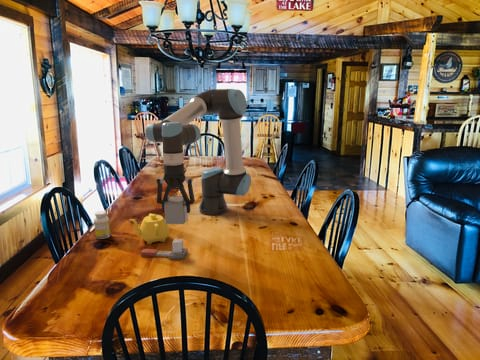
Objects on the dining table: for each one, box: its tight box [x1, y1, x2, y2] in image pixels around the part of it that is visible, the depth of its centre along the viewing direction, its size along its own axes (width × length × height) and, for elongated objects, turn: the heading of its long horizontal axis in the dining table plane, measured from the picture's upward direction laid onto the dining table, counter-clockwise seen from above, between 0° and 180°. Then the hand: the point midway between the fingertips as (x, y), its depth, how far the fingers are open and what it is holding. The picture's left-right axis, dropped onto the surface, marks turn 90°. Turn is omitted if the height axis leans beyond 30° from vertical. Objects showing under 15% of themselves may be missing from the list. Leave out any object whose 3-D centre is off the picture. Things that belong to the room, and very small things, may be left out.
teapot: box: [128, 213, 170, 245], centre depth 166 cm, size 14×14×12 cm
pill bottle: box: [93, 210, 112, 240], centre depth 170 cm, size 6×6×12 cm
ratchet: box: [140, 238, 189, 261], centre depth 152 cm, size 7×18×6 cm, turn 85°
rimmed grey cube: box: [164, 195, 186, 225], centre depth 147 cm, size 7×7×9 cm
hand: (176, 220), depth 148 cm, fingers closed on rimmed grey cube, 7 cm apart
